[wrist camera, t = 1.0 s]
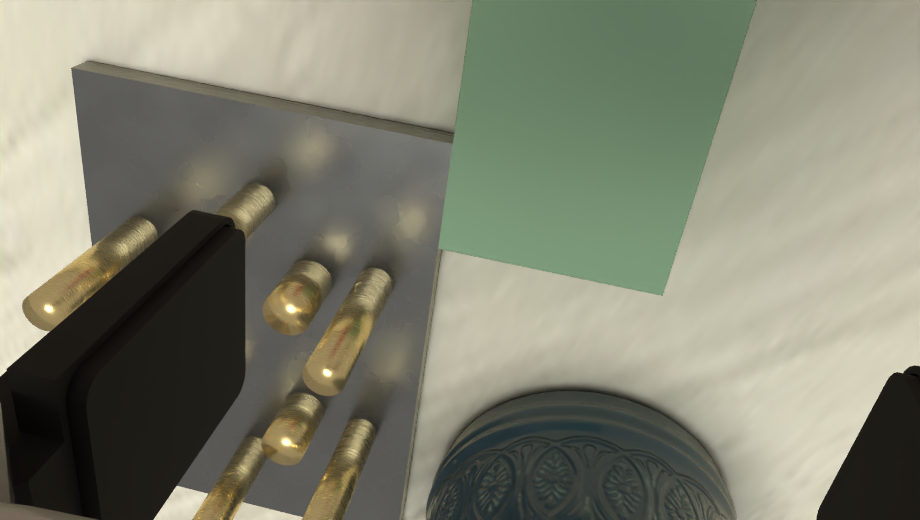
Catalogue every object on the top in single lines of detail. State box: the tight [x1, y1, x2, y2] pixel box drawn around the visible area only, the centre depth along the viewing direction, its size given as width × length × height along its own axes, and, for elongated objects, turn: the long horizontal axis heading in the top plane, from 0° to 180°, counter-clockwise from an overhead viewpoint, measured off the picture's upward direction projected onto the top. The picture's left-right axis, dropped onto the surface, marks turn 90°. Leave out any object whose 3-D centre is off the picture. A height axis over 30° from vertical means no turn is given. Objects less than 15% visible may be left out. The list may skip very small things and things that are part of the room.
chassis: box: [22, 61, 454, 520], centre depth 30 cm, size 14×20×7 cm
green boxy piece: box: [438, 0, 757, 296], centre depth 23 cm, size 7×10×5 cm
